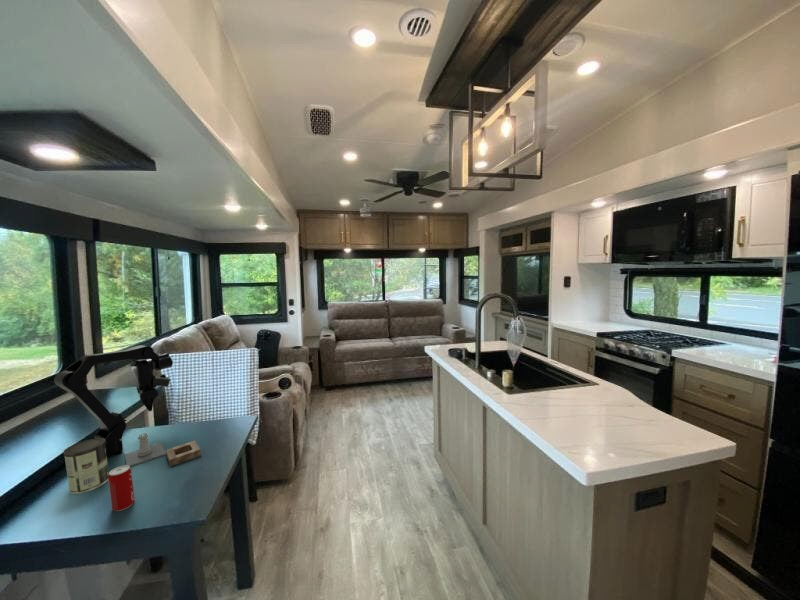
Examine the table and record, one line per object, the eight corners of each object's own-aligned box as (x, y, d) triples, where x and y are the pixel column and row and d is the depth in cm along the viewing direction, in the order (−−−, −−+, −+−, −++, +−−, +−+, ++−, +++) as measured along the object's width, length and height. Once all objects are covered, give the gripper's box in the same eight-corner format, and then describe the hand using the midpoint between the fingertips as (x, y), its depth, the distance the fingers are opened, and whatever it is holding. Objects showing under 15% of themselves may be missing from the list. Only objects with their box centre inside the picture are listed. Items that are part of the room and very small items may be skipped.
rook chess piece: (142, 451, 132) (140, 432, 132) (154, 450, 133) (152, 431, 132) (135, 457, 128) (132, 437, 127) (147, 456, 128) (145, 436, 128)
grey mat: (126, 468, 122) (126, 466, 122) (124, 455, 131) (124, 454, 131) (165, 455, 130) (165, 453, 130) (161, 444, 139) (161, 442, 139)
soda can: (136, 505, 101) (132, 468, 100) (113, 515, 98) (108, 476, 96) (133, 497, 105) (129, 461, 104) (111, 506, 101) (106, 469, 100)
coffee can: (98, 473, 119) (93, 436, 118) (116, 477, 116) (112, 439, 115) (61, 491, 110) (55, 451, 108) (80, 497, 106) (75, 455, 105)
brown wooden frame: (170, 466, 122) (169, 460, 122) (166, 456, 129) (165, 449, 129) (201, 455, 129) (200, 449, 128) (195, 446, 136) (194, 440, 136)
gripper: (171, 373, 142) (174, 408, 144) (164, 365, 156) (167, 397, 157) (138, 380, 135) (142, 416, 136) (134, 371, 148) (138, 404, 150)
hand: (149, 408), depth 145 cm, fingers open, 9 cm apart
